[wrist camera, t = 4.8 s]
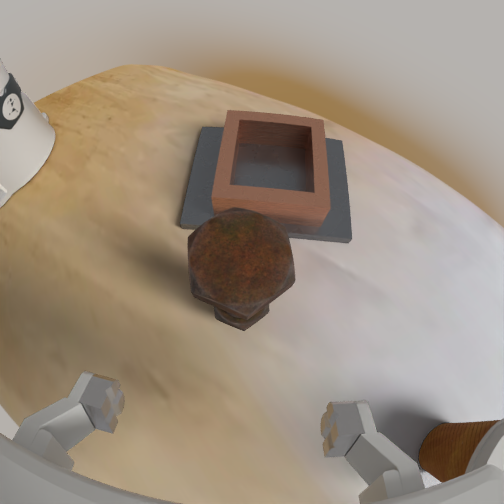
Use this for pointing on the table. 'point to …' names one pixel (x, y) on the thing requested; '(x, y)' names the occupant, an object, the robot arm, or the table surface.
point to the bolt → (240, 265)
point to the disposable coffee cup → (462, 448)
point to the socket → (271, 175)
